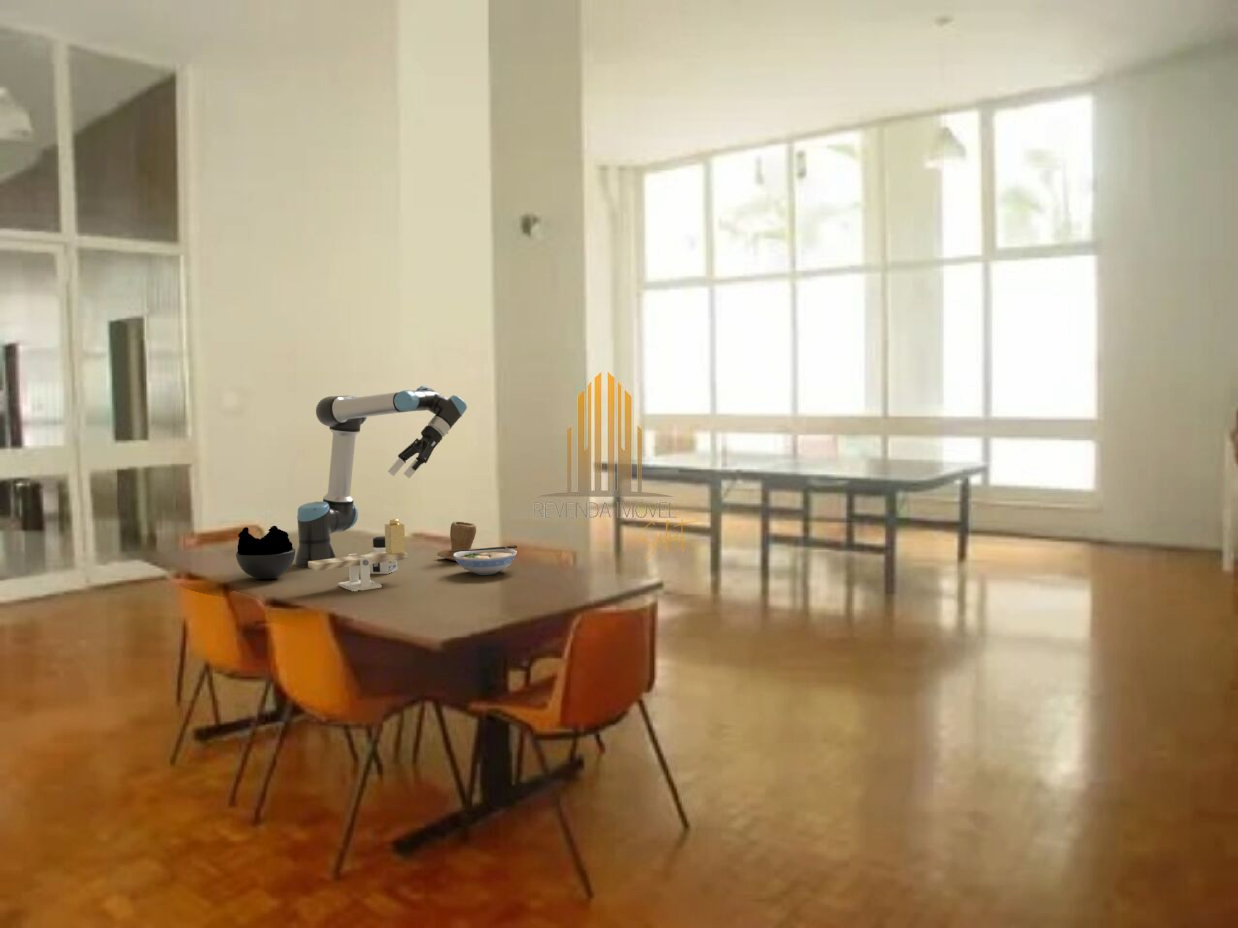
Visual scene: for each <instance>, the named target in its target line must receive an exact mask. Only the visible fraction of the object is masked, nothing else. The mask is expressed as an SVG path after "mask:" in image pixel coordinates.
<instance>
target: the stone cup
mask: <svg viewBox="0 0 1238 928" xmlns="http://www.w3.org/2000/svg"><path fill="white" fill-rule="evenodd" d="M449 533H450V534H449V536H450V537H449V538H450V545H451V548H450V549H444V550H440V551H438V552H436V555H437V556H438V557H440V558H443V559H447V560H451V561H456V560H455V558H454V556H453V555H454V553H456V552H449V551H460V550H469V549H472V545H473V543H474V540H475V538H476V533H477V526H476V524H474V523H472V522H471V523H469V522H464V521H456V520H455V521H453V522H452V523H451V524H450V531H449ZM456 562H457V561H456Z"/></svg>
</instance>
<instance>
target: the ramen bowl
mask: <svg viewBox="0 0 1238 928" xmlns="http://www.w3.org/2000/svg"><path fill="white" fill-rule="evenodd" d="M515 549H518V546H517V545H515V544H514V545H506V546H505V545H503V546H495V547H493V546H492V547H483V548H471V549H469V550H460V551H449V552H456V553H454V555H453V556H454V558H455V560H456V563H457V564H458V565H459V566H460V568H462V569H464V570H465V571H468V572H470V573H474V575H475V574H476V575H478V576H479V575H480V576H490V575H495V574H497V573H498V572H501V571H503V570H504V569H506V568H508V567H509V566H510V565H511V564H512V563H513V561H514V559H515V558H516V555H517V552H518V551H517V550H515ZM455 560H454V561H455Z"/></svg>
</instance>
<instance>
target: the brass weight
mask: <svg viewBox="0 0 1238 928" xmlns="http://www.w3.org/2000/svg"><path fill="white" fill-rule="evenodd" d="M384 536H385V548H386V553H388V554H391V555H393V554H401V553H406V540H405V524H404V523H400V520H399V519H397V518H396V519H395V518H394V519H393V518H392V519H389V523H384Z"/></svg>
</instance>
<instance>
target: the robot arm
mask: <svg viewBox="0 0 1238 928" xmlns="http://www.w3.org/2000/svg"><path fill="white" fill-rule="evenodd" d="M467 409H468V406H467V404H466V402H465V400H463V399H462V398H461V397H460V396H458V395H455V394H454V395H451V396H450V397H446V396H444V395H442V394H441V393H439V392H437V391H436V390H434V389H433V388H431V387H428V386H426V385H421V386H420V387H417V388H416V390H410V389H409V390H401V391H399V392H398V391H396V392H389V393H388V392H387V393H381V394H375V395H374V394H373V395H365V396H353V395H336V396H326V397H323V398H322V399H320V400H319V402H318V403H317V405H316V406H315V413H316V414H315V415H316V418H317V420H318V421H319V422H320V423H321V424H322V425H325V427H329V430H330V432H332V440H331V441H332V442H331V455H330V463H329V474H328V475H329V476H328V486H327V493H326V494H325V495H324V496H323V499H322V501H313V502H306V503H304V504H301V505H299V507H298V508H297V516H296V517H297V528H298V529H297V531H298V533H297V534H298V546H297V551H296V553H295V557H294V566H296V567H297V568H298V567H299V568H308V561H316V560H324V559H333V558H337V557H336V554H335V551H334V548H333V546H332V543H331V534H334V533H338V532H339V533H341V532H345V531H347V530H350V529H351V528H352V527H354V526H355V525H356V523H357V521H358V518H359V510H358V508H357V505H356V504H355V502H354V501H355V499H354V498H353V496H352V495H351V491H352V481H353V480H352V478H353V467H354V458H355V445H356V436H358V434H359V433H361V425H362V424H364V422H366V420H367V419H368V417H376V416H383V415H392V414H401V413H407V412H416V411H418V412H420V411H421V412H422V411H428V412H430V413H432V414H433V415H434V416H433V417H432V419H431V420H429V422H428V424H427V425H425V426H424V428H423V429H422V430H421V431H420V434H421V438H420V439H419V438H415V440H413V442H411V444H409V445H408V446H407V447H406V448H404V449H403V450H402V451H401V452H400V453H399V454H398V455H397V457H398V459H396V461H395V462H394V463H393V465H392V466H391V467H390V468H389V469H388V471H387V473H389V474H390V475H392V476H393V477H395V475H396V474H397V473H398V472H399V471H400V470H401V468H402V467H404V465H405V464H406V462H407V461H408V460H409V459H411V458H412V457H413V456H415V455H416V454H418V455H417V456H416V457H415V459H414V460H413V461H412V463H411V464H410V465H409V466H408V468H407V469H406V470H405V471H404V472H403V474H404V476H406V477H407V478H408V479H411V478H412V476H413V475H414V474H415V473H416V472H417V470H418V469H419V468H420V467H421V465H424V464H427V463H428V461H429V459H430V457H431V455H432V454H433V451H434V449H435V448H436V447H437V446H438V444H439V443H440V442H441V441H442V440H443V437H445V436H446V435H448V434H449V431H450V430H451V429H452V427H453V426H454V425H455V424H456V423H457V422H458V420H460V419H461V417H462V416H463V415H464V414H465V412H466V410H467Z"/></svg>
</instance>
